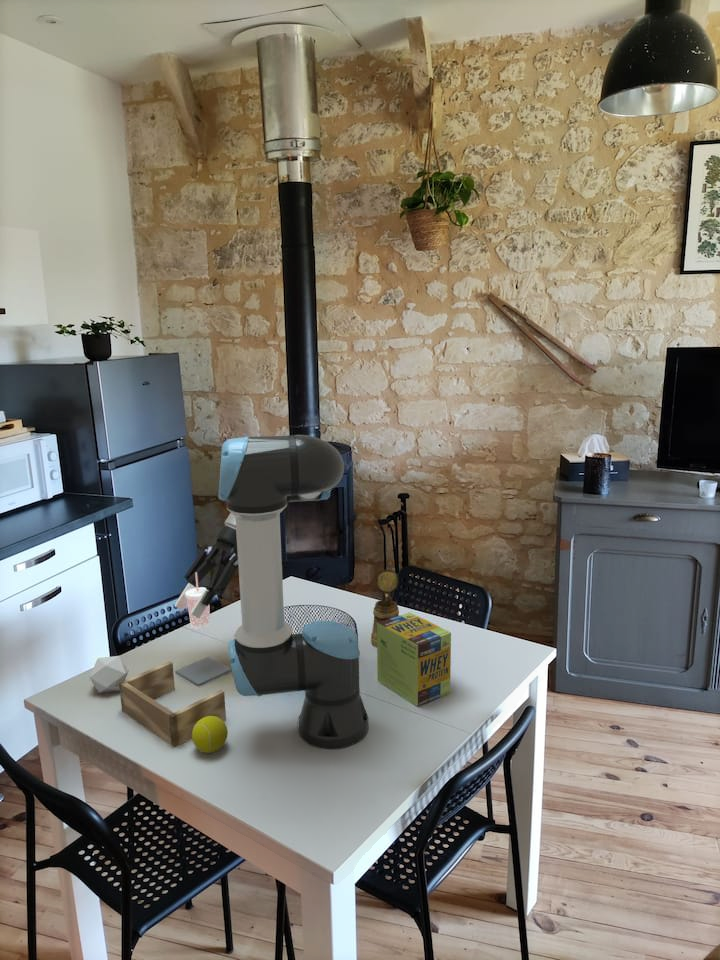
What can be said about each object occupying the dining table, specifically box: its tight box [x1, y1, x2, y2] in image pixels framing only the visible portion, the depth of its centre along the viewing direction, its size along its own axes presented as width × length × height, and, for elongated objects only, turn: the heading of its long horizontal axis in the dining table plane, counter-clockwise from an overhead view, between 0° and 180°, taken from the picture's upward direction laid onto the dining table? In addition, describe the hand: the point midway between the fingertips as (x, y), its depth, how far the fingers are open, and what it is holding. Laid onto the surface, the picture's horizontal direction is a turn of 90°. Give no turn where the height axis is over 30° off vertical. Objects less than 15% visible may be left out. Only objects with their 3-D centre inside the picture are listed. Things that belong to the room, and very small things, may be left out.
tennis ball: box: [192, 716, 229, 754], centre depth 142 cm, size 7×7×7 cm
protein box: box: [376, 612, 452, 708], centre depth 164 cm, size 10×15×16 cm
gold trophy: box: [370, 568, 400, 648], centre depth 190 cm, size 9×14×18 cm, turn 173°
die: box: [89, 655, 129, 694], centre depth 167 cm, size 8×9×10 cm
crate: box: [119, 661, 227, 748], centre depth 155 cm, size 13×21×7 cm, turn 48°
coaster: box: [174, 656, 232, 687], centre depth 175 cm, size 10×10×1 cm
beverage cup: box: [185, 572, 211, 631], centre depth 171 cm, size 6×6×14 cm
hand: (186, 611), depth 169 cm, fingers closed on beverage cup, 6 cm apart
